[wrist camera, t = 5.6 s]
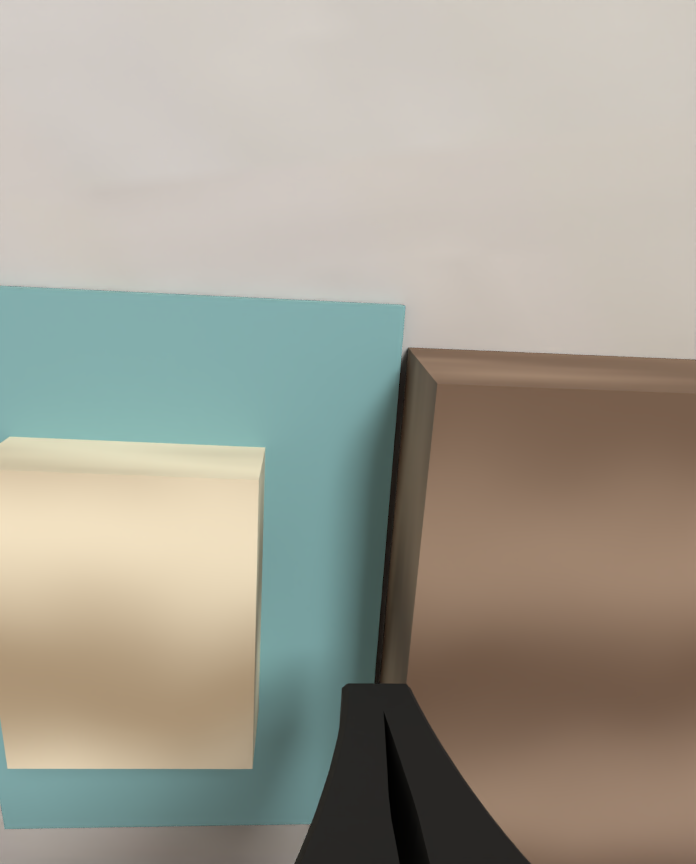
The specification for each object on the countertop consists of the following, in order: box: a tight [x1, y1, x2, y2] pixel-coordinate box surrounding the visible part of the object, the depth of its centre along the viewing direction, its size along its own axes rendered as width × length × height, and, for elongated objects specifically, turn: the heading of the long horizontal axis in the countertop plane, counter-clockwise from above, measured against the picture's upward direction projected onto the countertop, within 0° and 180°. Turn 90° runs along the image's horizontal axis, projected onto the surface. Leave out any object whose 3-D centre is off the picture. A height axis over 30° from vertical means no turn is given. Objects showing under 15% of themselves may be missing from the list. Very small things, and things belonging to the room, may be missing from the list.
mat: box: [0, 286, 405, 829], centre depth 16 cm, size 16×11×1 cm
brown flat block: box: [379, 348, 696, 864], centre depth 15 cm, size 14×10×4 cm
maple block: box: [0, 437, 265, 769], centre depth 15 cm, size 8×6×2 cm
